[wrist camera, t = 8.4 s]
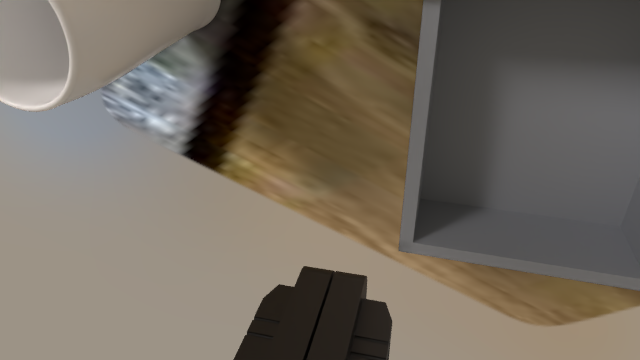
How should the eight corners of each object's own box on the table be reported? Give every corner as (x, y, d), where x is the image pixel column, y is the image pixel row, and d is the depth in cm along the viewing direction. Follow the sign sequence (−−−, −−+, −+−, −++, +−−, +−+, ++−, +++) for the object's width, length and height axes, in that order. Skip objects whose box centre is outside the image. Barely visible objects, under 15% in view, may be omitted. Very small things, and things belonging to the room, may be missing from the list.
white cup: (141, -80, 31) (-91, -74, 18) (238, -59, 30) (65, -37, 17) (144, 26, 34) (-47, 93, 21) (232, 48, 33) (84, 132, 20)
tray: (628, 233, 31) (657, 293, 26) (409, 202, 34) (398, 250, 29) (750, -82, 22) (829, -80, 17) (439, -82, 25) (431, -81, 21)
